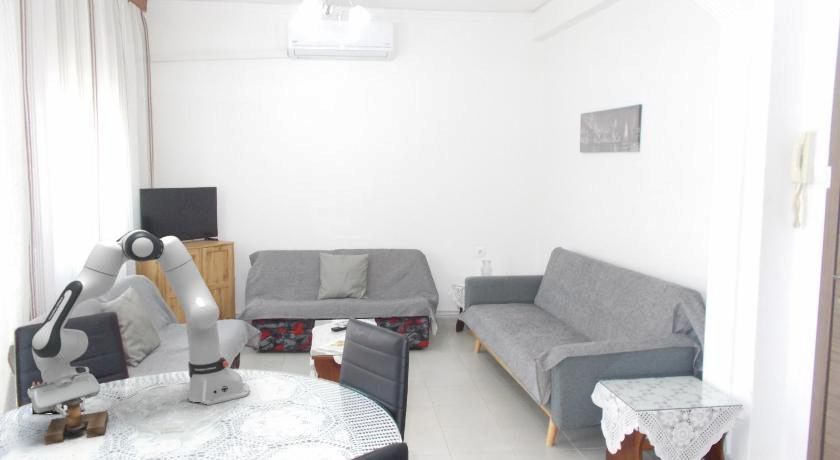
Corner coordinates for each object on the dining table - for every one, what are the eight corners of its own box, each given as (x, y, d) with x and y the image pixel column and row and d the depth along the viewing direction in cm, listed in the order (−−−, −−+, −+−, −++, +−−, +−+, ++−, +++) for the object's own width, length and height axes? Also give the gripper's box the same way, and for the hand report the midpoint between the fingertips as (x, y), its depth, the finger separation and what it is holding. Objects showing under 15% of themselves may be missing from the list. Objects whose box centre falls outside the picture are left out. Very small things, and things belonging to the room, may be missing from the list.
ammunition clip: (32, 414, 225) (29, 382, 224) (35, 412, 227) (32, 380, 225) (61, 414, 225) (58, 382, 223) (64, 412, 226) (61, 380, 225)
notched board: (108, 418, 219) (107, 410, 219) (104, 435, 206) (103, 426, 206) (52, 427, 213) (51, 419, 213) (45, 444, 200) (44, 436, 200)
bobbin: (85, 423, 210) (83, 397, 209) (83, 429, 205) (81, 403, 204) (67, 426, 208) (65, 400, 207) (65, 432, 203) (62, 406, 202)
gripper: (27, 383, 200) (42, 419, 196) (92, 365, 216) (108, 399, 211) (23, 393, 204) (38, 429, 199) (87, 375, 220) (103, 408, 215)
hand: (75, 413), depth 205 cm, fingers closed on bobbin, 4 cm apart
